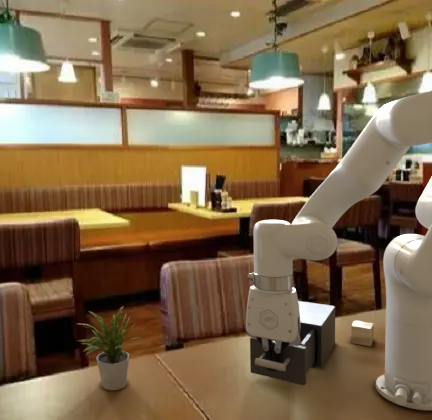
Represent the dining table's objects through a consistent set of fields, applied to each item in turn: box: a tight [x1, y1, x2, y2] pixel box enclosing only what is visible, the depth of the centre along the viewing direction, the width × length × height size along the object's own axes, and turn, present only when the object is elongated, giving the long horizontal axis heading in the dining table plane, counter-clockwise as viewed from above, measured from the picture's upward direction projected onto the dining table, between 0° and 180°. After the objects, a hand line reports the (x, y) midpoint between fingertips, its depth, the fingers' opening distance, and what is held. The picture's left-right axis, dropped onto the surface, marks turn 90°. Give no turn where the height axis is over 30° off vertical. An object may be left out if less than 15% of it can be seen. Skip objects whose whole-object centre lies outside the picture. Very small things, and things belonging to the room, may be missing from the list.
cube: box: [350, 319, 375, 347], centre depth 112 cm, size 4×4×4 cm
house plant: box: [76, 305, 142, 391], centre depth 96 cm, size 14×14×16 cm
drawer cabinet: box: [298, 300, 336, 369], centre depth 108 cm, size 15×13×10 cm
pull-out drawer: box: [249, 326, 317, 386], centre depth 96 cm, size 18×12×8 cm, turn 146°
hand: (273, 368), depth 91 cm, fingers closed
